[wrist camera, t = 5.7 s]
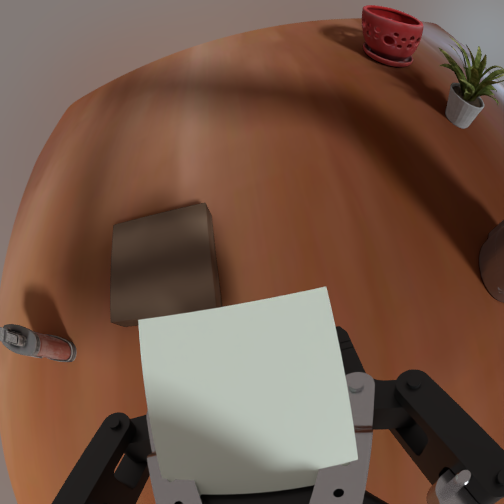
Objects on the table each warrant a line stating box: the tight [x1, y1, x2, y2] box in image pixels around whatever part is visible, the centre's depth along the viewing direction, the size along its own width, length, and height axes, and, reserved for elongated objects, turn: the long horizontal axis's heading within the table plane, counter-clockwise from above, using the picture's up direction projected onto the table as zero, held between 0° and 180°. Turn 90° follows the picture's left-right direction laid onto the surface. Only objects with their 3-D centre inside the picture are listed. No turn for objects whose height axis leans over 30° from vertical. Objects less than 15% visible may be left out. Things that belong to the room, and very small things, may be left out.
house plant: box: [438, 36, 504, 128], centre depth 30 cm, size 14×14×16 cm
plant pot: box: [362, 5, 423, 67], centre depth 41 cm, size 13×13×12 cm
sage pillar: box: [138, 287, 358, 494], centre depth 11 cm, size 5×5×11 cm
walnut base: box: [110, 203, 222, 327], centre depth 31 cm, size 12×12×3 cm
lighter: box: [0, 324, 76, 362], centre depth 25 cm, size 8×3×10 cm, turn 89°
